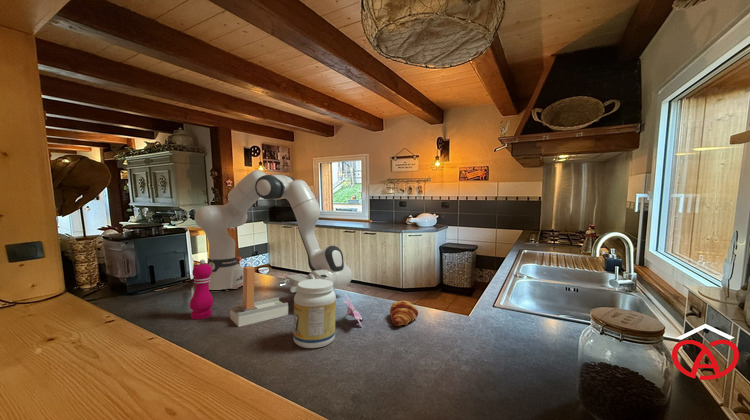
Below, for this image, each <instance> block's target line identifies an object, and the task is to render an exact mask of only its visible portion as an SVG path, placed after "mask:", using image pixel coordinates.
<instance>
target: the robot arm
mask: <svg viewBox="0 0 750 420" xmlns="http://www.w3.org/2000/svg"><path fill="white" fill-rule="evenodd" d="M260 198H261V199H263V200H269V201H273V200H276V201H277V200H282V199H285V200H286V201H288V202H289V204H290V207H291V209H292V212H293V214H294V216H295V219H296V222H297V223H296V224H297V227H298V228H297V229H298V233H299V235H300V238H301V241H302V243H303V246H304V249H305V252H306V255H307V262H308V263H307V264H308V267H309V269H310V272H309V274H308V275H307V274H303V273H297V274H288V275H286V276H285V279H284V280H280V281H279V282H278V287H281V288H282V287H285V286H289V292H291V293H297V292H298V291H297V288H298V283H299V282H301V281H304V280H310V279H324V280H329V281H332V282H333V290H336V289H340V288H343V287H346V286H347V285H349V284H350V283H351V281H352V279H353V271H352V269H351V267H350V266H348V265H347V263H346V262H345V259H344V254H343V252H342V250H341V248H339V246H336V245H329V246H328V247H325V248H322V249H321V247H320V245H319V242H318V239H317V237H316V234H315V229H316V226H317V223H318V221H319V219H320V216H321V208H320V207H321V206H320V204H319V202H318V199H317V198H316V196H315V194H314V192H313V191H312V189H311V187H310V186H309V185H308V183H307V182H306V181H304V180H303V179H295V178H293V177H292V176H290V175H288V174H287V175H286V174H278V173H277V174H267V173H265V172H264V171H262V170H258V169H256V170H253V171H251V172H249V173H248V174H247V175H245V176H244V177H243V178H242V179H240V180H239V182H238V183H237V184H236V185H234V187H233V188H232V189H231V190H230V191H229V192H228V193H227V201H228V202H227V203H225V204H222V205H219V204H213V205H212V204H210V205H205V206H201V207H199V208H198V209H197V210H196V212H195V214H194V221H195V224H196V225H197V226H198V227H199V228H200V229H201V230H203V232H204V234H205V235H206V239H207V243H208V258H207V264H208V265H210V266H211V268H212V273H211V275H210V276H209V277H210V282H209V290H221V289H227V288H233V286H235V285H237V284H239V283H241V282H243V268H244V266H241V265H240V264H239V263H238V262H241V261H242V259H243V257H242V256H237V257H236V241H235V239H234V238H233V237H231V236H230V235H229V231H228V229H234V228H237V227H241V226H244V225H245V224H246V222H247V221H248V211H249V209H251V207H252V206H253V205H254V204H255V203H256V202H257V201H258V200H260Z"/></svg>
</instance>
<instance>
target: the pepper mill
mask: <svg viewBox="0 0 750 420" xmlns="http://www.w3.org/2000/svg"><path fill="white" fill-rule="evenodd" d="M191 273H192V276H193V277H194V278H193V280H194V281H193V283H194V285H195V289H194V293H193V294H192V297H191V299H190V301H189V309H190V310H191V312H190V313H191V314H190V318H191V319H192V320H204V319H208V318H210V317H212V316H213V310H212V307H213V306H214V303H215V302H214V298H213V296H212V294H211V291H209V282H210V277H209V276H210V275H211V273H212V268H211V266H210V265H208V263H206V260H205V259H201V260H199V264H197V265H195V266H194V267H193V268H192V271H191Z"/></svg>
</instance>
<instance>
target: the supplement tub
mask: <svg viewBox="0 0 750 420" xmlns="http://www.w3.org/2000/svg"><path fill="white" fill-rule="evenodd" d="M297 291H298V292H295V294H294V297H293V334H292V337H293V342H294V343H295V345H297V346H298V347H300V348H305V349H318V348H322V347H325V346H328V345H330V344H331V343H332V342H333V341H334V340H335V337H336V314H337V313H336V311H337V310H336V309H337V307H336V306H337V294H336V293H335V291H334V289H333V282H332V281H329V280H324V279H310V280H304V281H301V282H299V283H298V288H297Z"/></svg>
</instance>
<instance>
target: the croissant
mask: <svg viewBox="0 0 750 420" xmlns="http://www.w3.org/2000/svg"><path fill="white" fill-rule="evenodd" d="M389 314H390V318H391V321H392V324H393V325H394V326H396V327H402V326H401V325H405V326H408V325H409V324H410V323H409V322H411V321H412V322H414V320H415V319H416V318H417V317H418V316H419V310H418V308H417V307H416V306H415V305H414V304H413V303H412V302H410V301H407V300H398V301H396V302H393V303H392V304H391V305H390V309H389ZM412 322H411V323H412ZM408 323H409V324H408ZM407 324H408V325H407Z"/></svg>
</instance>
